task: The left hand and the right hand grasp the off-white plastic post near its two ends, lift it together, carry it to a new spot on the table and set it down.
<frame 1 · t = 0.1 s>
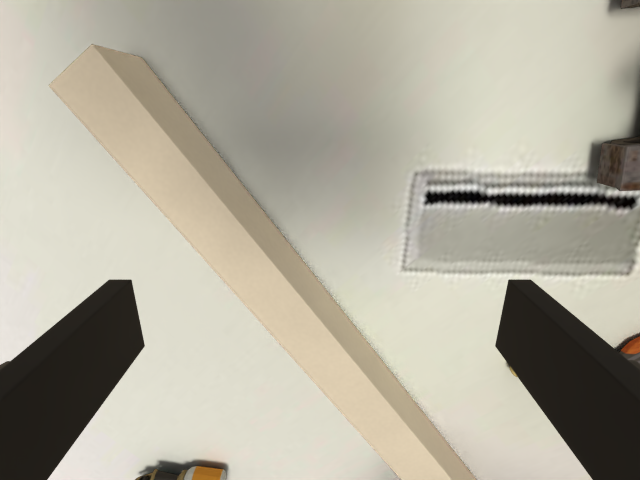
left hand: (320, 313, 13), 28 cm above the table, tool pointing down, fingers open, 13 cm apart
toy gun: (585, 352, 47), on the table
post: (333, 329, 46), on the table
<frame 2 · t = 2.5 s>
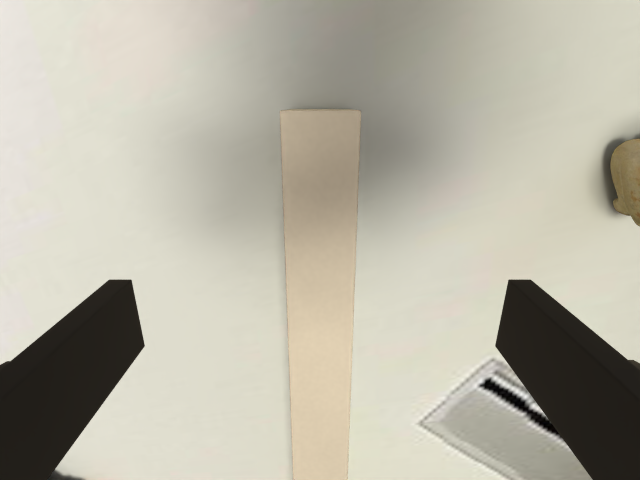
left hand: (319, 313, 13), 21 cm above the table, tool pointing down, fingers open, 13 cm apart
post: (320, 437, 43), on the table, touching right hand
sculpture: (628, 175, 32), on the table
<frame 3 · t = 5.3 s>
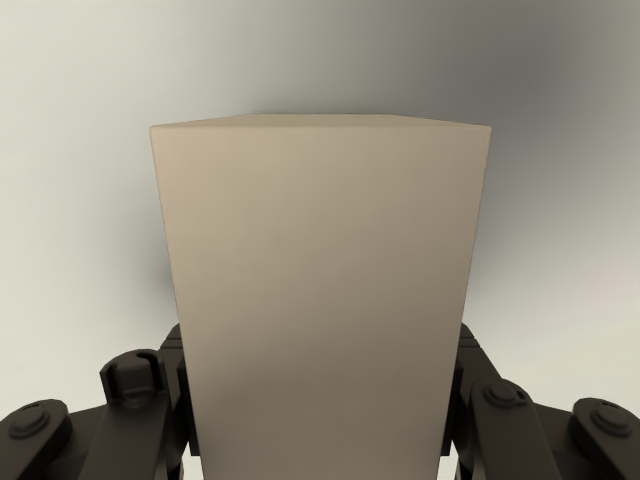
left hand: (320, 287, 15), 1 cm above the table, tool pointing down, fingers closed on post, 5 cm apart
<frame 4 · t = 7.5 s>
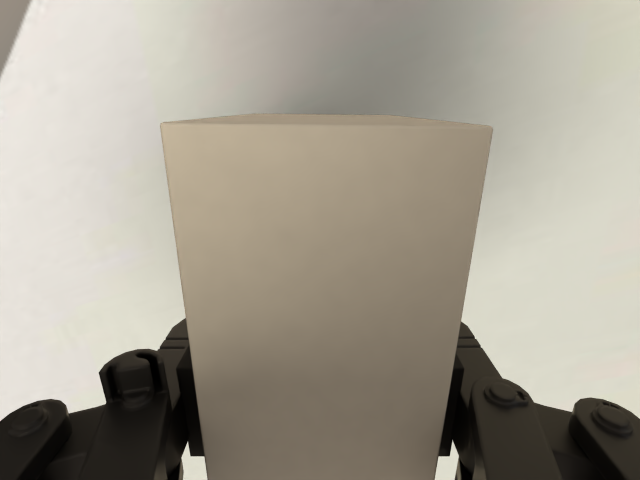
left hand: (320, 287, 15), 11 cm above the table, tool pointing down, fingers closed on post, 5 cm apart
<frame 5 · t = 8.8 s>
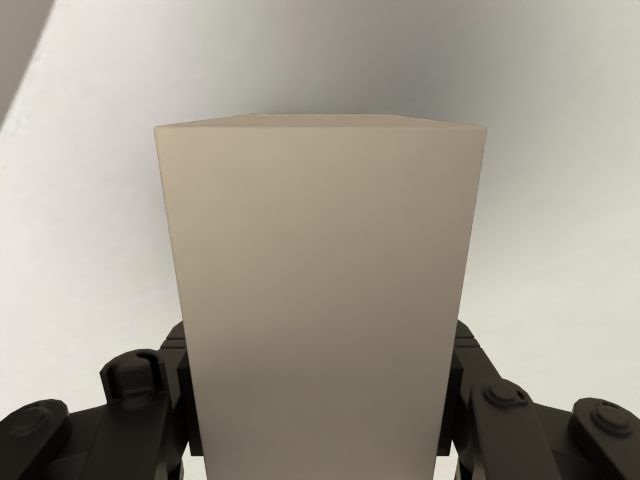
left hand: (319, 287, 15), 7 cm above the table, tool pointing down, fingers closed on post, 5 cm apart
when the left hand's fingers open (2 cm above the table, at t = 9.7 s): post moves 1 cm, on the table.
when the right hand's fingers open (5 cm above the table, at t = 9.9 s): post stays where it is, on the table.
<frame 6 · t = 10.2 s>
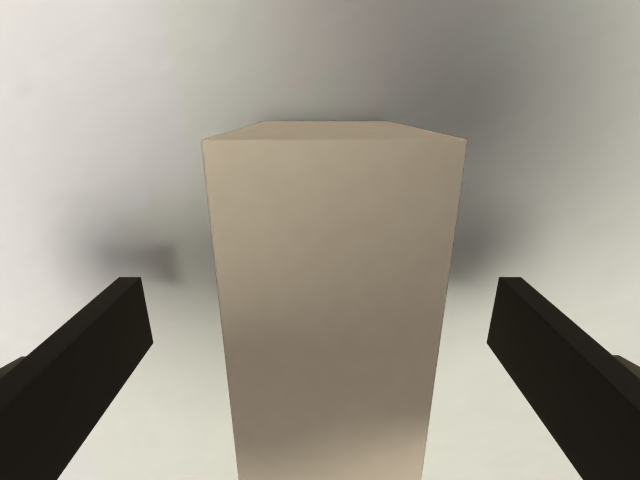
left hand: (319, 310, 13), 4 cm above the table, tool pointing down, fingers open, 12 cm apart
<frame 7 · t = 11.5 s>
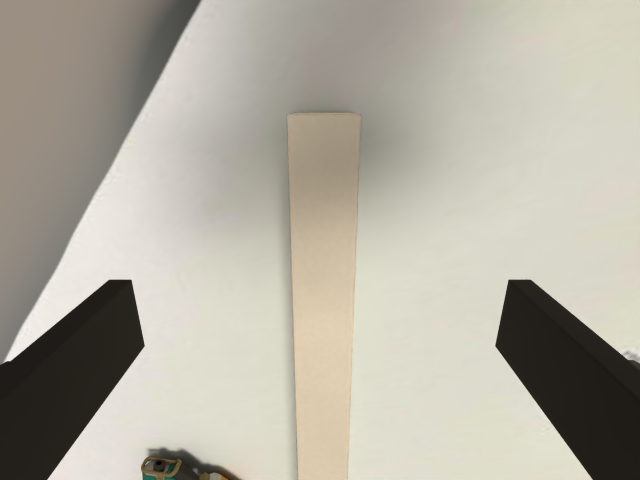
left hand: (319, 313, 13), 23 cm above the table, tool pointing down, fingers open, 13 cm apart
post: (322, 423, 45), on the table
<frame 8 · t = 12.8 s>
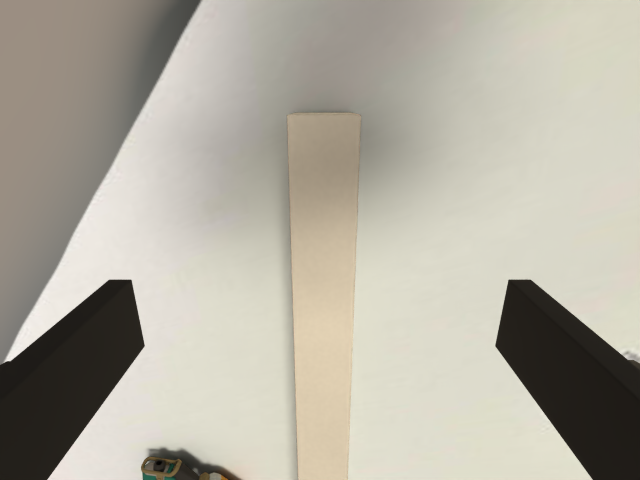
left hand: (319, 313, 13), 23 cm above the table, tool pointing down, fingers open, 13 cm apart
post: (322, 423, 45), on the table
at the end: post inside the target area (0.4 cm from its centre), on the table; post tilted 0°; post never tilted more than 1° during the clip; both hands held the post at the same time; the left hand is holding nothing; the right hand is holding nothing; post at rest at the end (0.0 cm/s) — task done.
